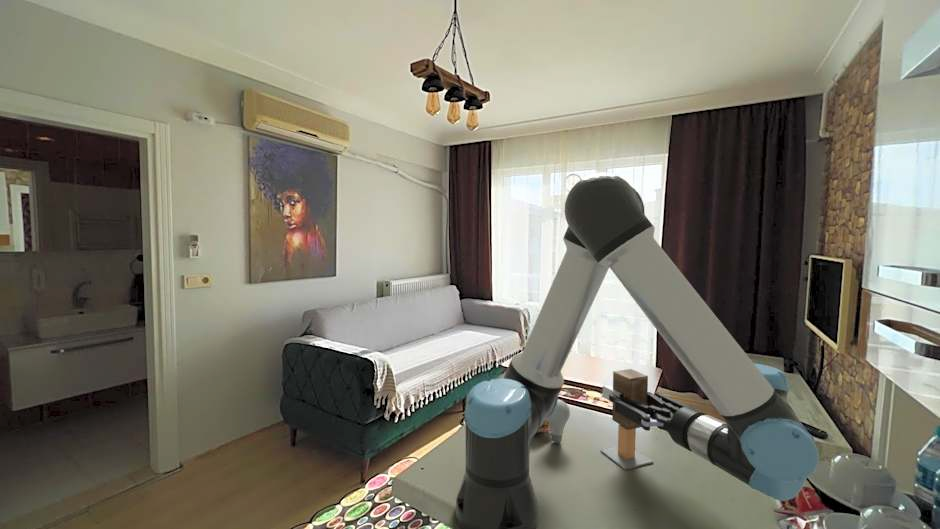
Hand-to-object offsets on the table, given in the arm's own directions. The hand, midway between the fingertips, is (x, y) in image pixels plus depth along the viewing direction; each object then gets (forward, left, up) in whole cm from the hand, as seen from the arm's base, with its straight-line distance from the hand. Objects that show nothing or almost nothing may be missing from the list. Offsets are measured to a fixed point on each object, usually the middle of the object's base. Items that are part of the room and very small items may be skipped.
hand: (613, 389), depth 94 cm
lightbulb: (-12, -5, -15) cm, 20 cm away
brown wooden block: (+4, -3, -6) cm, 8 cm away
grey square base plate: (+4, -3, -14) cm, 15 cm away
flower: (-18, -2, -15) cm, 24 cm away
